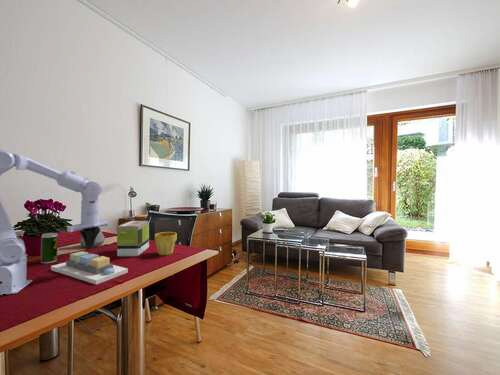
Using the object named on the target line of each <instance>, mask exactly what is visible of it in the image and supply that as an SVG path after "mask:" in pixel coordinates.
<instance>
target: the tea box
mask: <svg viewBox="0 0 500 375" xmlns="http://www.w3.org/2000/svg"><path fill="white" fill-rule="evenodd" d="M149 247H150V221H149V220H130V221H127V222H124V223H122V224H120V225H118V226H117V228H116V256H117V257H139V256H140V255H141V254H142V253H143V252H145V251H146V250H147V249H149Z"/></svg>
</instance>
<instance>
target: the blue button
mask: <svg viewBox="0 0 500 375" xmlns="http://www.w3.org/2000/svg"><path fill="white" fill-rule="evenodd" d="M97 257H100V255H99V254H94V253H89V254H88V255H85V256H81V257H80V264H83V265H90V259H93V258H97Z"/></svg>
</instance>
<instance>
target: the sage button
mask: <svg viewBox="0 0 500 375" xmlns="http://www.w3.org/2000/svg"><path fill="white" fill-rule="evenodd" d="M88 254H90V253H89V252H86V251H77V252H73V253H70V254H69V260H70V261H72V262H80V257H81V256H85V255H88Z"/></svg>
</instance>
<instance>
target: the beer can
mask: <svg viewBox="0 0 500 375" xmlns="http://www.w3.org/2000/svg"><path fill="white" fill-rule="evenodd" d="M58 237H59V235H58V232H47V233H43V234H41V237H40V239H41V240H40V263H41V264H43V265H44V264H45V265H47V264H51V263H55V262H57V260H58V251H59V250H58V246H59V242H58V241H59V238H58Z"/></svg>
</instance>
